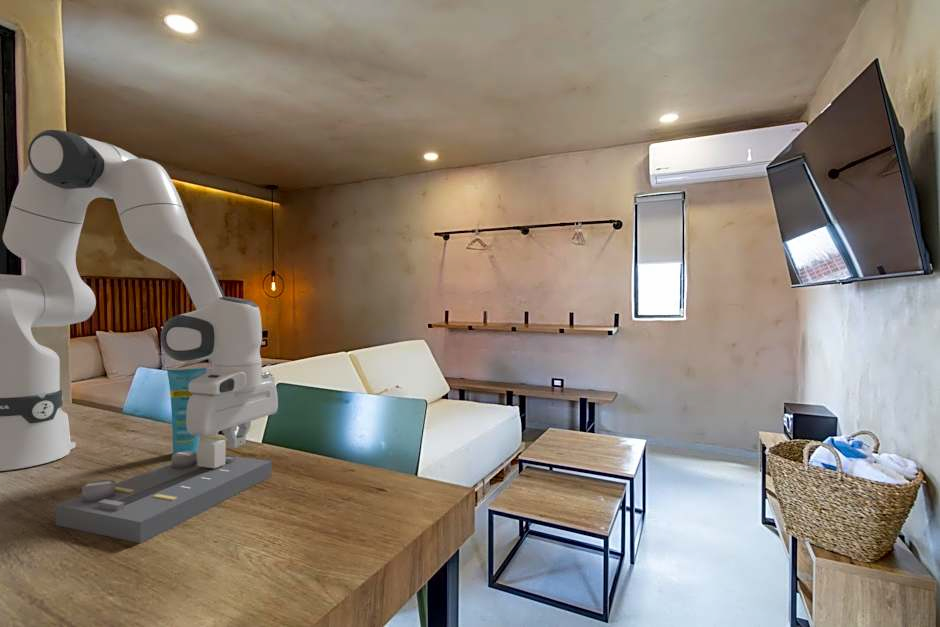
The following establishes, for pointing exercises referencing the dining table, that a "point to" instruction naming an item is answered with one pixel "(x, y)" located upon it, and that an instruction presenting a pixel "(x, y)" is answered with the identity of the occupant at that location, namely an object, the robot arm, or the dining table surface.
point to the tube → (182, 408)
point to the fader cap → (211, 453)
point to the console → (158, 497)
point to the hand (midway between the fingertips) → (236, 446)
